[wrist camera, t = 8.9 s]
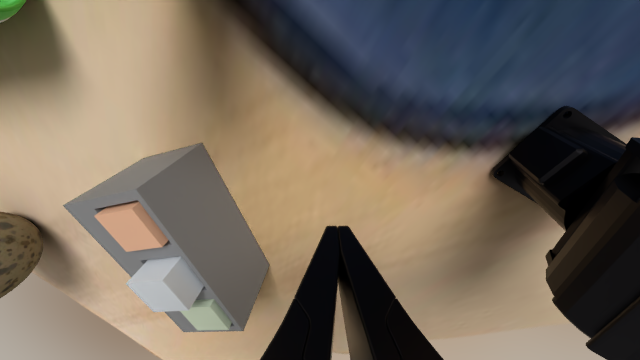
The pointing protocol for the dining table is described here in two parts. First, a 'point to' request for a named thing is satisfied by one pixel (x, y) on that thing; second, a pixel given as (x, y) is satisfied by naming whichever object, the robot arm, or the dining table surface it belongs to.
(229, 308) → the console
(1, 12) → the speaker
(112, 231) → the terracotta button
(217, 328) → the sage button
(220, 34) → the dining table surface
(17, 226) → the decorative egg
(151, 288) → the grey blue button
